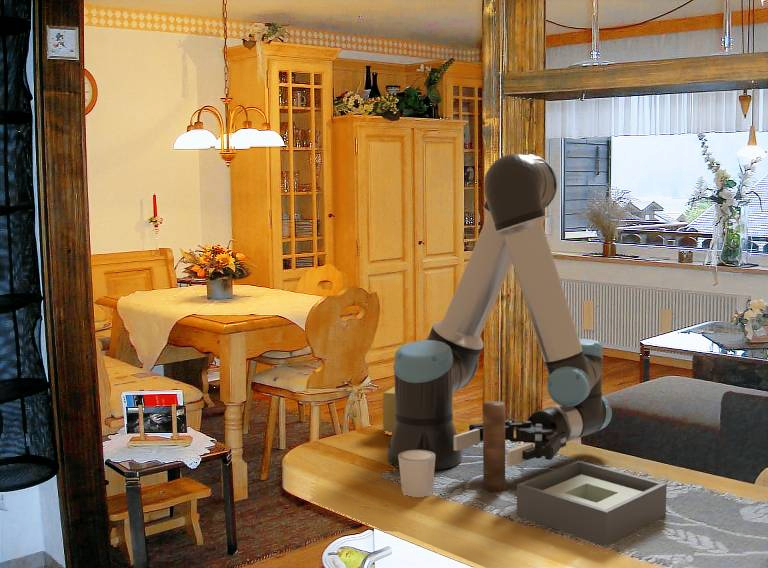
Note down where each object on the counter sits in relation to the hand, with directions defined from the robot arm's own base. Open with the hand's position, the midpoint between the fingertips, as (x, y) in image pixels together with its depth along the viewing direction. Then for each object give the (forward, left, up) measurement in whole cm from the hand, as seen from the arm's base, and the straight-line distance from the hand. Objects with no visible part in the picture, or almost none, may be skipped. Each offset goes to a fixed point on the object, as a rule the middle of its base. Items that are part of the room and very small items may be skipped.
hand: (480, 450), depth 161 cm
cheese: (-37, +19, -8) cm, 42 cm away
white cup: (-9, -7, -8) cm, 14 cm away
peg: (0, +4, -8) cm, 9 cm away
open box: (+20, +5, -8) cm, 22 cm away
